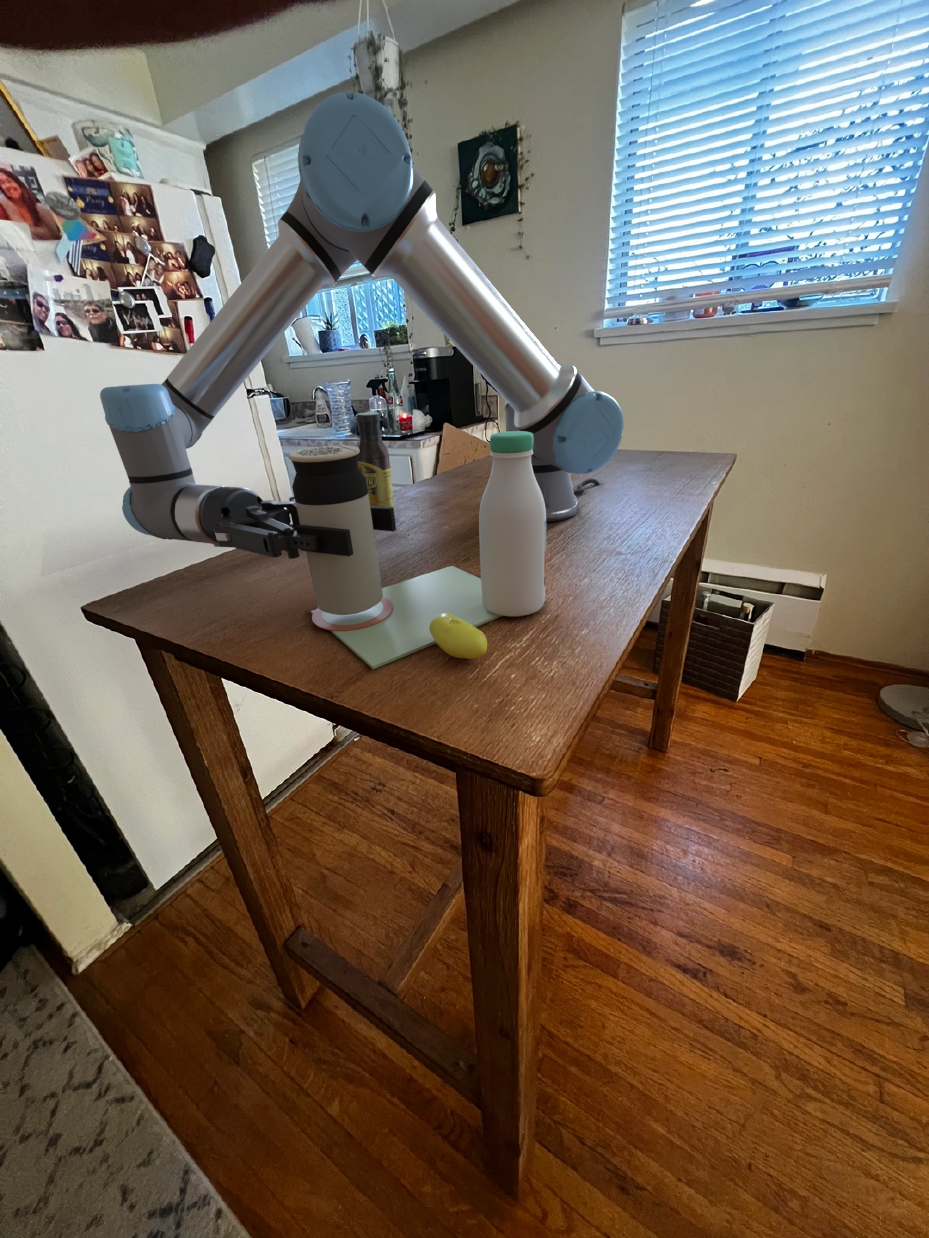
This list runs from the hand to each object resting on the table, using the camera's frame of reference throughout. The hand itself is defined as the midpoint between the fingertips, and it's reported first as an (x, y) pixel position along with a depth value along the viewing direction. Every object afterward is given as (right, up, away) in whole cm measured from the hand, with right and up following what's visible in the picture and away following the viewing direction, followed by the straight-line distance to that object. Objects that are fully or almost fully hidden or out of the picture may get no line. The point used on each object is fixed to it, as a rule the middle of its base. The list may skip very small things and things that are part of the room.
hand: (372, 530), depth 56 cm
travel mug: (-4, -8, +6) cm, 11 cm away
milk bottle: (+16, -8, +6) cm, 19 cm away
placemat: (+5, -9, +7) cm, 12 cm away
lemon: (+9, -13, -2) cm, 17 cm away
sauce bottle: (-6, +9, +43) cm, 44 cm away
